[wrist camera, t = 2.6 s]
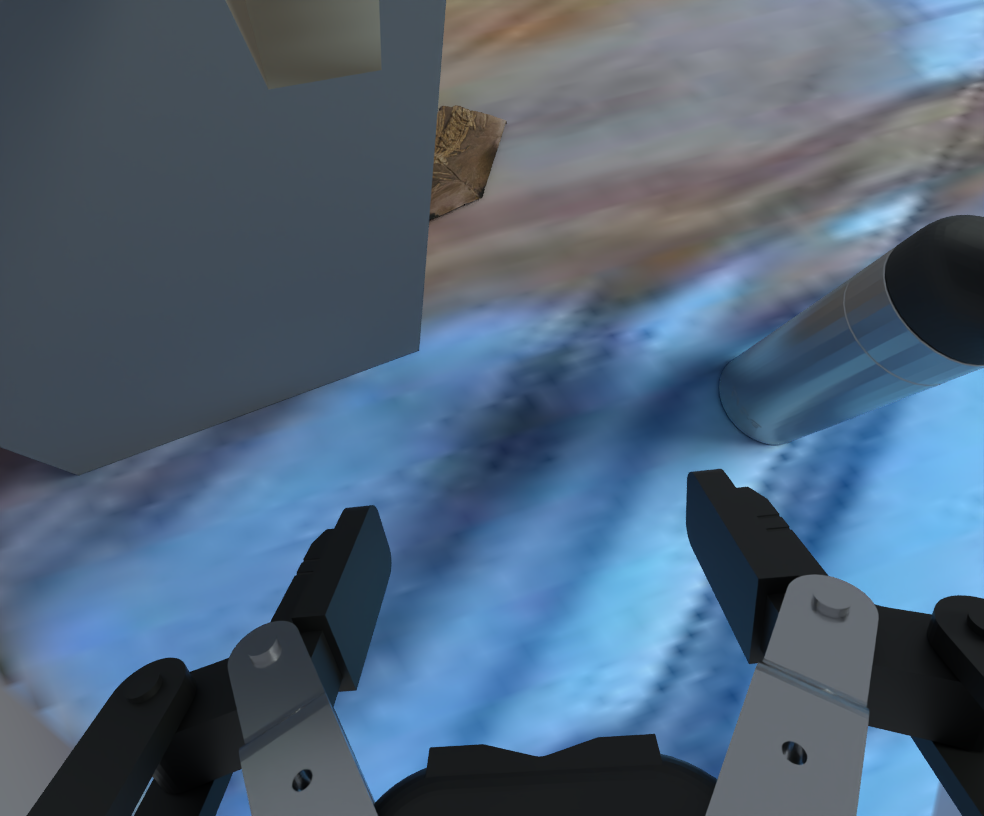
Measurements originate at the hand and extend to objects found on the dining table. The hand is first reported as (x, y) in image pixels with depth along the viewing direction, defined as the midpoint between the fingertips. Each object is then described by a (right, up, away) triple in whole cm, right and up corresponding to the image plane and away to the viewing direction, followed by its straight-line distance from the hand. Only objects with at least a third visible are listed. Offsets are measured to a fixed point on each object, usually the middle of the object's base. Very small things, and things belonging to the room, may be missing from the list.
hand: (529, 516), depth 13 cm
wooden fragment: (-8, +25, +37) cm, 45 cm away
